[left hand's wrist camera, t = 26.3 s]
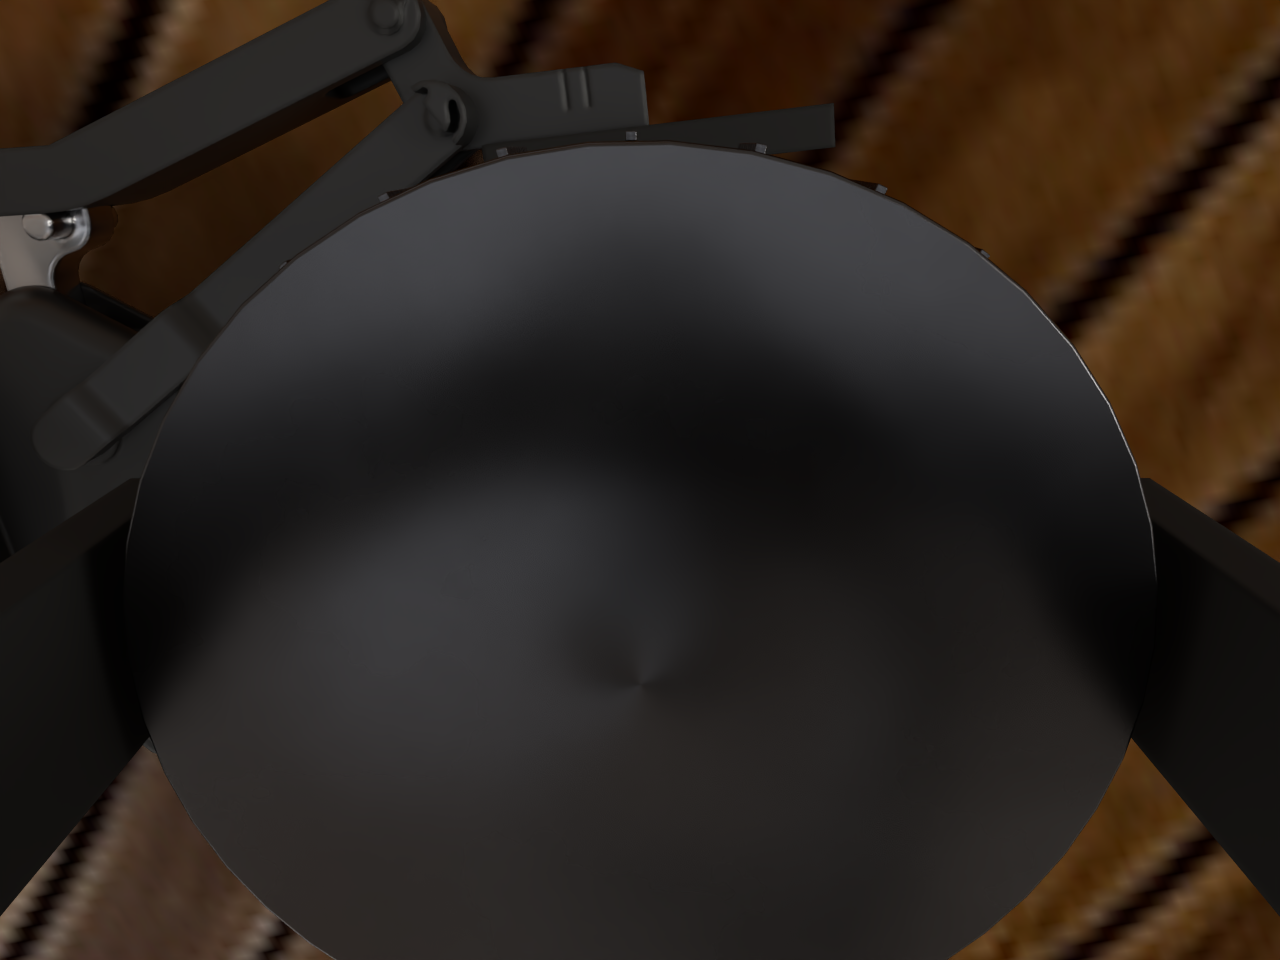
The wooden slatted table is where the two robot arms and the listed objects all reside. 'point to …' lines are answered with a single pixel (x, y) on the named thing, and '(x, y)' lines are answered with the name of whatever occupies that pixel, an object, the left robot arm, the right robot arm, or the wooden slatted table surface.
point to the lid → (640, 572)
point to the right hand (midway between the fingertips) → (831, 394)
